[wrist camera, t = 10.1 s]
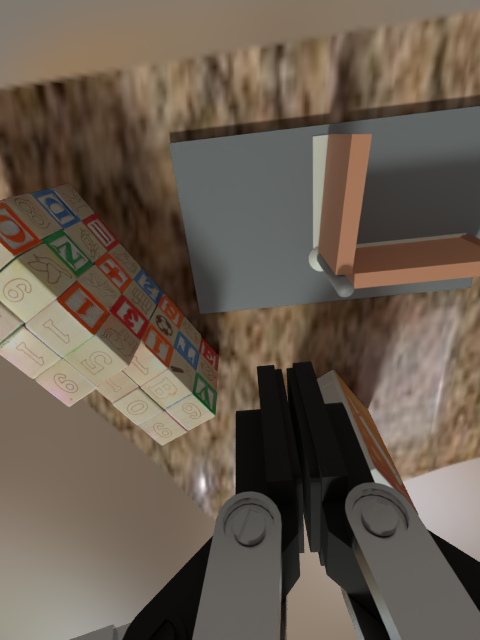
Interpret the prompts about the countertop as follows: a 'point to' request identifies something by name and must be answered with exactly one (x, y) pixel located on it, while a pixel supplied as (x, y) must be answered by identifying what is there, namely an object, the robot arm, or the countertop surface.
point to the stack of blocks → (96, 318)
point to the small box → (363, 432)
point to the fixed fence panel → (416, 262)
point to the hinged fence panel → (342, 206)
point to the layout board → (320, 204)
